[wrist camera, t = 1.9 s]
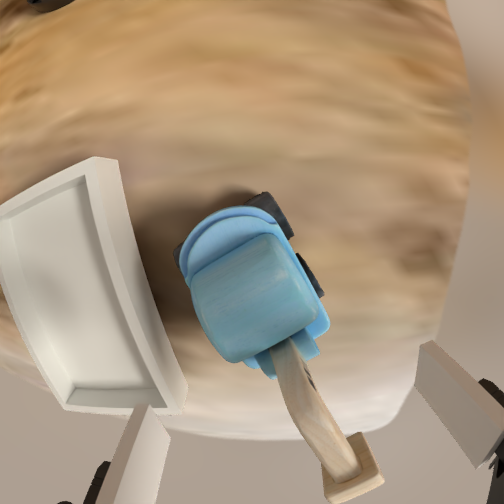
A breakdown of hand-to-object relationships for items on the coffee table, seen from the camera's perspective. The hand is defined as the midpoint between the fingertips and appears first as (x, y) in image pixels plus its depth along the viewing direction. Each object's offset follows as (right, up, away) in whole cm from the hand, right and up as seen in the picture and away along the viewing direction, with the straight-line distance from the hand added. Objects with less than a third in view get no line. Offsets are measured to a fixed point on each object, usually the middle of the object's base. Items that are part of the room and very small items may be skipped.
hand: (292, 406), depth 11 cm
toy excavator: (-1, +3, +13) cm, 14 cm away
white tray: (-18, +3, +13) cm, 22 cm away
